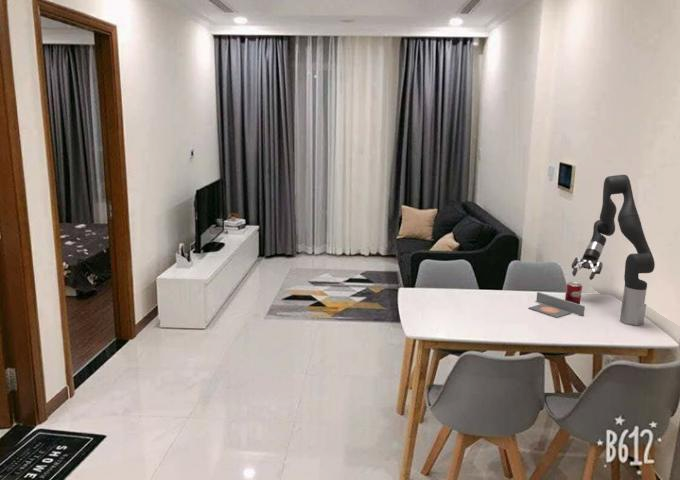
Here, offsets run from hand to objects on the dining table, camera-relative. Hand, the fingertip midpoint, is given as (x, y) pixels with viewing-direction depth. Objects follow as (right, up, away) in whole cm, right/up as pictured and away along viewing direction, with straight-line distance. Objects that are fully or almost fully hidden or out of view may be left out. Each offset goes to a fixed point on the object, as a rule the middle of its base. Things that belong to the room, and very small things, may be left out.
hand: (582, 277), depth 286 cm
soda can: (-7, -15, -3) cm, 17 cm away
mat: (-21, -16, -11) cm, 28 cm away
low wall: (-14, -15, -6) cm, 22 cm away
